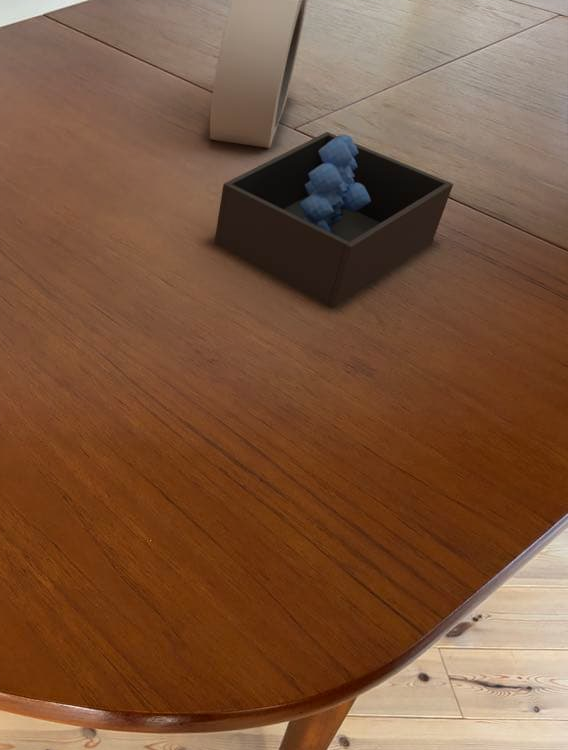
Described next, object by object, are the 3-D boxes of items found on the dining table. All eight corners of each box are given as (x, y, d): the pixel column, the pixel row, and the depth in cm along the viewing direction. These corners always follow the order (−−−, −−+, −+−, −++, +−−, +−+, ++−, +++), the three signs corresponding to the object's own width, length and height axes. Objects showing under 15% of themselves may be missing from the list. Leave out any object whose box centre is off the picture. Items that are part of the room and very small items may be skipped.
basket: (430, 247, 91) (453, 183, 86) (332, 312, 83) (351, 246, 78) (312, 192, 100) (327, 131, 94) (213, 246, 92) (223, 183, 87)
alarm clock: (264, 164, 104) (297, -7, 91) (203, 155, 106) (227, -14, 93) (289, 93, 119) (321, -64, 105) (235, 86, 121) (259, -70, 107)
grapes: (341, 280, 86) (372, 171, 78) (275, 262, 89) (299, 155, 80) (369, 225, 93) (401, 120, 85) (308, 209, 96) (333, 106, 88)
